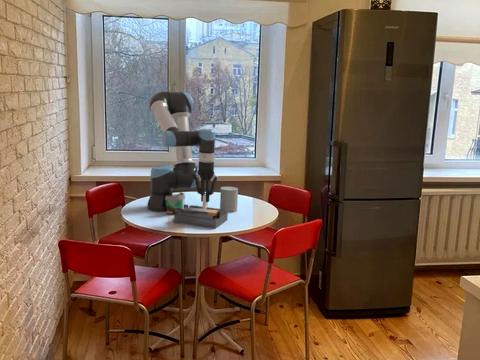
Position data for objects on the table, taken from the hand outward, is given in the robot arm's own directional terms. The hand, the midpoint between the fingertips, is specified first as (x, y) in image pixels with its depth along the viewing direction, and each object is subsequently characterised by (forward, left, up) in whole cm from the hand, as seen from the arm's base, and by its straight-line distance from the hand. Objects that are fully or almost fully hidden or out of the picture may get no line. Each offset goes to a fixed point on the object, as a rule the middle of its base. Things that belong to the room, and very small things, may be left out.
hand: (204, 208), depth 235 cm
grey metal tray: (-2, 0, -7) cm, 7 cm away
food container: (-19, +8, -7) cm, 22 cm away
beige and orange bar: (-2, 0, -3) cm, 3 cm away
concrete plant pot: (+3, +26, -7) cm, 27 cm away
